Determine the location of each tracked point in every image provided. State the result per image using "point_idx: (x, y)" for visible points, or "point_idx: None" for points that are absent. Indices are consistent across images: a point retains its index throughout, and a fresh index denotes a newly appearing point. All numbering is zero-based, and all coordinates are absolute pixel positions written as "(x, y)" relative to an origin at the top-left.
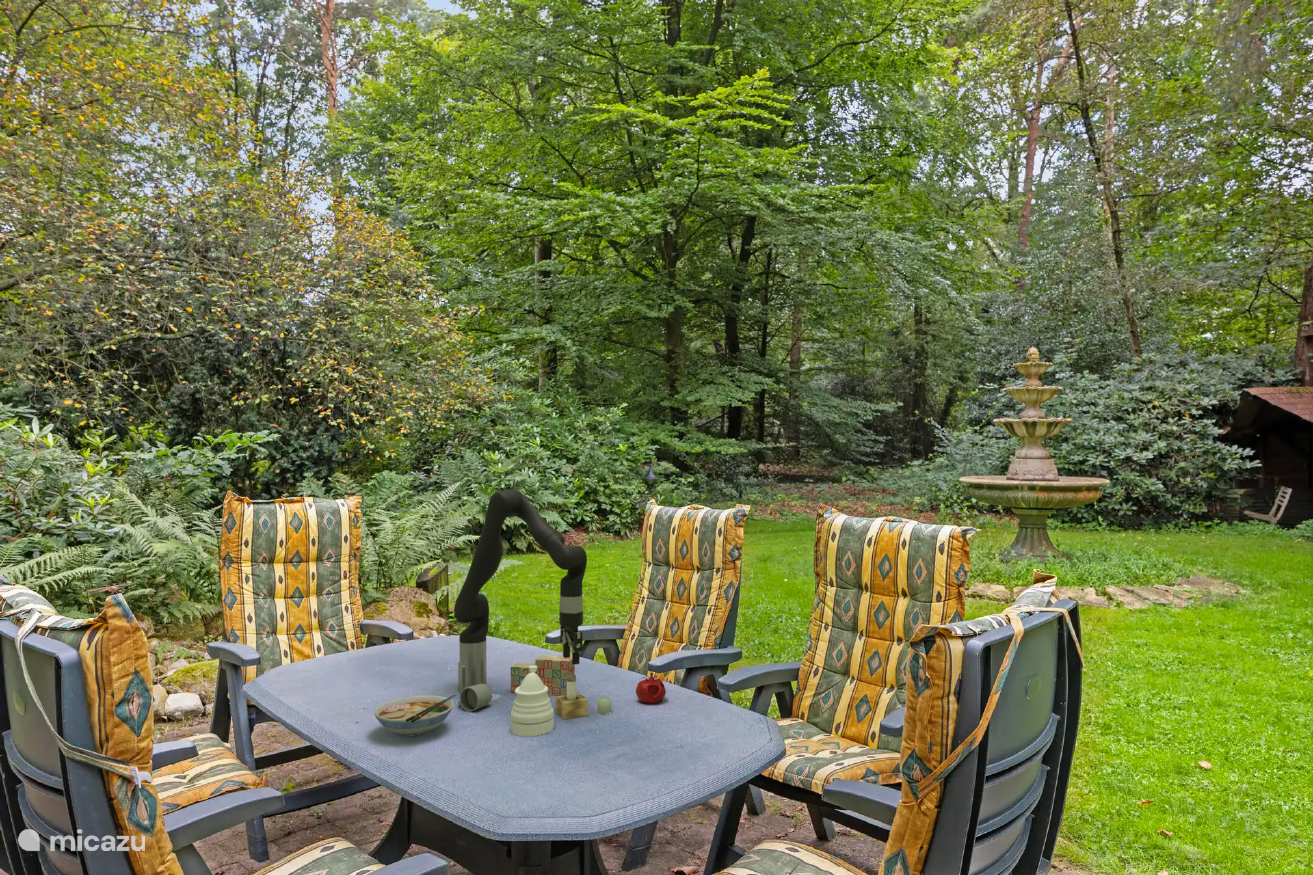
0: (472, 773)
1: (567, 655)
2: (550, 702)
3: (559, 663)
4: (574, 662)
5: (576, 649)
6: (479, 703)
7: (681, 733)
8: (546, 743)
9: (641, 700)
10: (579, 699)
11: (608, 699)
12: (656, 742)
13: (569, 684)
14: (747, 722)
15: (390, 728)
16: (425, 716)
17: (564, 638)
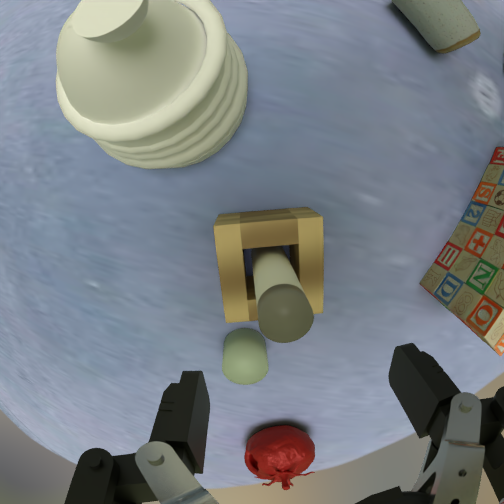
0: (11, 10)
1: (396, 374)
2: (134, 155)
3: (499, 300)
4: (174, 385)
5: (84, 470)
6: (399, 2)
7: (73, 407)
8: (53, 132)
9: (271, 427)
10: (240, 296)
11: (239, 377)
12: (34, 358)
13: (262, 287)
14: None
15: None
16: None
17: (436, 485)
